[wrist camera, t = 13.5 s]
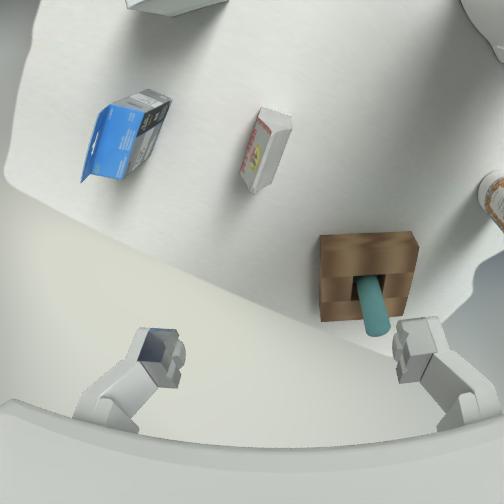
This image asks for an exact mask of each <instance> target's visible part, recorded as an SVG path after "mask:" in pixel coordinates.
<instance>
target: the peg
mask: <svg viewBox="0 0 504 504" xmlns="http://www.w3.org/2000/svg"><path fill="white" fill-rule="evenodd" d="M354 277H355V281H356V286H357V290H358V295H359V300H360V304H361V309H362V314H363V319H364V324H365V329H366V333H367V334H368V335H369V336H372V337H378V336H382V335H384V334H386V333H387V332H388V331H389V330H390V327H391V325H390V321H389V317H388V314H387V310H386V307H385V303H384V299H383V296H382V292H381V289H380V286H379V282H378V279H377V276H376V275H362V276H354Z"/></svg>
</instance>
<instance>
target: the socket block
mask: <svg viewBox="0 0 504 504" xmlns="http://www.w3.org/2000/svg"><path fill="white" fill-rule="evenodd" d="M418 252H419V245H418V243H417V242H416V240H415V238H414V236H413V234H412V232H411V231H410V232H386V233H363V234H341V235H320V299H319V306H320V317H321V322H328V321H345V320H360V319H363V314H362V309H361V304H360V300H359V295H358V290H357V286H356V283H352V282H353V276H362V275H378V276H377V279H378V282H379V286H380V289H381V292H382V296H383V299H384V303H385V307H386V310H387V314H388V317H397V316H403V313H404V309H405V306H406V302H407V298H408V295H409V291H410V287H411V283H412V279H413V274H414V270H415V266H416V261H417V257H418Z"/></svg>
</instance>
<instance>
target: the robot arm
mask: <svg viewBox="0 0 504 504" xmlns="http://www.w3.org/2000/svg"><path fill="white" fill-rule="evenodd" d="M461 3H462V5H463V7H464V10H465V12H466V13H467V15H468V17H469V19H470V20H471V22H472V23H473V25H474V26H475V27H476V28H477V30H478V31H479V32H480V33H481V34H482V35H483V36H484V37H485V38H486V39H487V40H488V41H489V43H490V44H491V46H492V48H493V50H494V52H495V54H496V56H497V58H498V60H499V61H500V62H502V63H504V0H461ZM396 328H397V333H396V334H394V337H393V343H392V350H393V356H394V359H395V360H396V361H397V362H398V365H397V368H396V371H397V376H398V381H399V384H402V383H411V382H418V381H420V383H421V385H422V386H423V387H424V388H425V389H426V390H427V392H428V393H429V394H430V395H431V396H432V397H433V399H434V400H435V401H436V402H437V403H438V405H439V406H440V407H441V408H442V409H443V410H444V412H445V413H446V415H445V416H444V417H443V418H442V420H441V421H440V422H439V423H438V425H437V432H436V433H431V434H426V435H421V436H416V437H410V438H404V439H398V440H391V441H384V442H376V443H368V444H358V445H348V446H334V447H316V448H253V447H233V446H220V445H209V444H200V443H191V442H182V441H176V440H169V439H163V438H156V437H150V436H145V435H140V434H138V432H139V427H138V426H137V425H136V424H135V423H134V422H133V421H132V420H131V418H132V417H133V415H134V414H135V413H136V412H137V411H138V410H139V409H140V408H141V407H142V406H143V404H145V402H146V401H147V400H148V399H149V398H150V397H151V396H152V395H153V394H154V392H155V391H156V390H157V389H158V387H162V388H178V384H179V381H180V378H181V373H180V371H179V369H180V368H181V367H182V366H183V365H184V363H185V357H186V356H185V355H186V353H185V352H186V351H185V347H184V344H183V342H181V341H180V340H179V339H178V337H179V334H178V332H177V330H175V329H159V328H158V329H157V328H139V329H138V330H137V332H136V334H135V337H134V339H133V341H132V344H131V346H130V349H129V351H128V353H127V356H126V359H125V360H121V361H120V362H119V363H118V364H116V365H115V366H114V367H113V368H112V369H110V370H109V371H108V372H107V373H105V374H104V375H103V376H102V377H100V378H99V379H98V380H97V381H96V382H95V383H93V384H92V385H91V386H90V387H88V388H87V389H86V390H85V391H84V392H83V393H82V395H81V397H80V400H79V402H78V405H77V407H76V410H75V412H74V415H73V417H72V418H70V417H66V416H63V415H60V414H57V413H53V412H51V411H48V410H45V409H42V408H39V407H36V406H33V405H31V404H28V403H25V402H23V401H20V400H17V399H11V400H9V401H7V402H6V403H4V404H3V405H1V406H0V504H504V414H502V411H501V407H500V403H499V400H498V397H497V393H496V390H495V387H494V385H493V384H492V383H491V382H490V381H488V380H487V379H486V378H485V377H484V376H483V375H482V374H480V373H479V372H478V371H477V370H476V369H475V368H474V367H472V366H471V365H470V364H469V363H468V362H467V361H466V360H464V359H463V358H462V357H461V356H460V355H458V354H457V353H456V352H455V351H454V350H451V351H450V349H449V346H448V343H447V340H446V337H445V334H444V332H443V329H442V326H441V323H440V321H439V318H438V317H437V316H431V317H424V318H423V317H421V318H413V319H405V320H399V321H398V322H397V326H396Z"/></svg>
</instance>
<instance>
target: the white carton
mask: <svg viewBox="0 0 504 504" xmlns="http://www.w3.org/2000/svg"><path fill="white" fill-rule="evenodd" d="M291 131H292V122H291V116H288V115H285V114H282V113H279V112H276V111H273V110H270V109H267V108H264V107H261V110H260V113H259V116H258V119H257V122H256V125H255V128H254V131H253V133H252V137H251V140H250V143H249V146H248V149H247V152H246V155H245V158H244V161H243V164H242V167H241V170H240V175H241V177H242V178H243V180H244V181H245V183H246V184H247V186H248V189H249V191H250V193H251V192H252V190H253V188H254V194H255V192H257V191H258V190H260V189H261V188H263V187H265V186H267V185H269V184H271V183H272V181H273V178H274V175H275V173H276V170H277V167H278V165H279V162H280V159H281V157H282V154H283V152H284V149H285V146H286V144H287V141H288V138H289V136H290V133H291ZM254 194H253V195H254Z"/></svg>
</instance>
